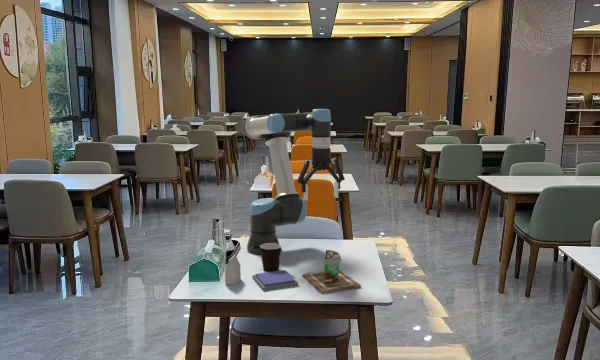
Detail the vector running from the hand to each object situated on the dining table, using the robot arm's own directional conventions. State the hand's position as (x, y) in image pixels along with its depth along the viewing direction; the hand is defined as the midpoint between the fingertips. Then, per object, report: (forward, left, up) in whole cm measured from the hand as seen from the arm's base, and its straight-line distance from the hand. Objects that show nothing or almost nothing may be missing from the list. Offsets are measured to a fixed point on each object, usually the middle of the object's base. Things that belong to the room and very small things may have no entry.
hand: (321, 198), depth 216 cm
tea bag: (+5, -39, -29) cm, 49 cm away
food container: (+19, -3, -28) cm, 34 cm away
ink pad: (+11, -24, -29) cm, 39 cm away
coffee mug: (-4, -20, -29) cm, 35 cm away
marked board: (+19, -4, -29) cm, 35 cm away
